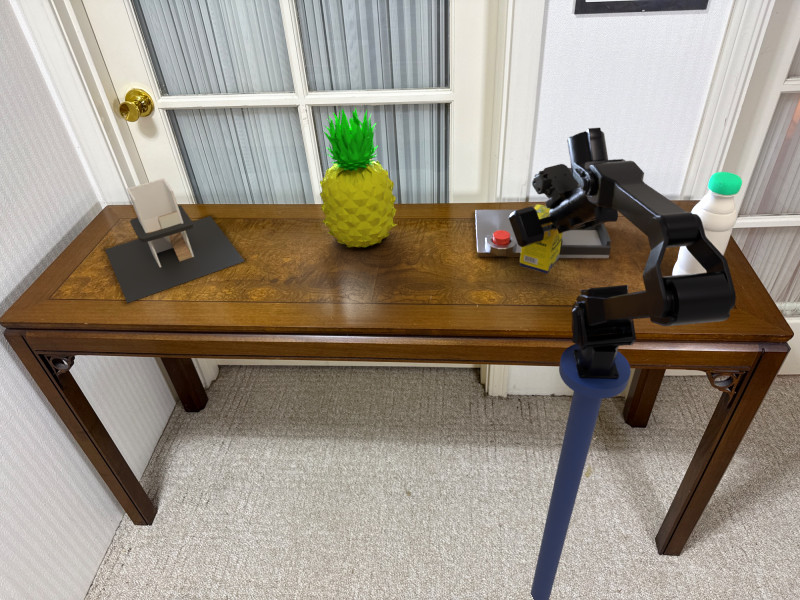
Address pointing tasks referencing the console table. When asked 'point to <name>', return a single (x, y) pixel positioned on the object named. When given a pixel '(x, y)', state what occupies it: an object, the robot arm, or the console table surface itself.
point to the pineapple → (356, 185)
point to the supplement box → (542, 247)
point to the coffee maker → (585, 242)
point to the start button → (501, 238)
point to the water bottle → (713, 219)
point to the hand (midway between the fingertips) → (538, 230)
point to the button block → (487, 226)
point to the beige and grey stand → (167, 245)
